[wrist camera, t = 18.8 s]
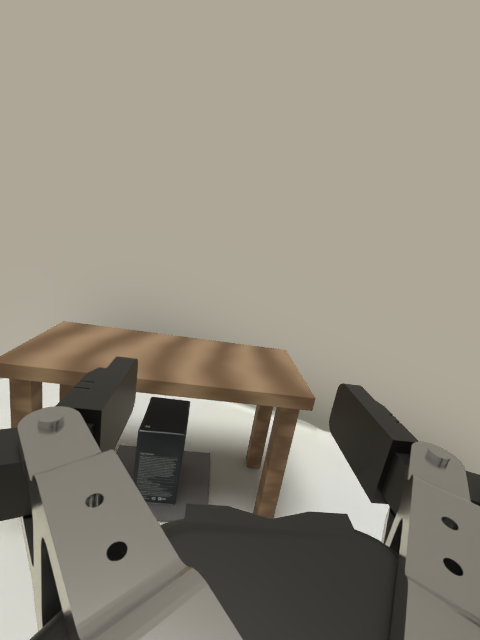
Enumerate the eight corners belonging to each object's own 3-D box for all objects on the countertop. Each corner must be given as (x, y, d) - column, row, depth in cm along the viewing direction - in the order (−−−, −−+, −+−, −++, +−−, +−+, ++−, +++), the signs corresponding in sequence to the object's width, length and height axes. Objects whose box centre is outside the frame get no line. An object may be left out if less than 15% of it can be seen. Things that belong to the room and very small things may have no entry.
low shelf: (263, 455, 50) (285, 350, 45) (280, 535, 37) (315, 398, 32) (62, 437, 46) (63, 321, 41) (-2, 520, 33) (-10, 361, 28)
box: (175, 506, 38) (185, 434, 35) (130, 503, 37) (136, 430, 34) (182, 461, 45) (191, 399, 43) (144, 458, 45) (150, 395, 42)
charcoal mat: (209, 454, 48) (209, 453, 48) (207, 524, 36) (207, 522, 36) (119, 447, 46) (119, 445, 46) (87, 517, 35) (87, 515, 35)
